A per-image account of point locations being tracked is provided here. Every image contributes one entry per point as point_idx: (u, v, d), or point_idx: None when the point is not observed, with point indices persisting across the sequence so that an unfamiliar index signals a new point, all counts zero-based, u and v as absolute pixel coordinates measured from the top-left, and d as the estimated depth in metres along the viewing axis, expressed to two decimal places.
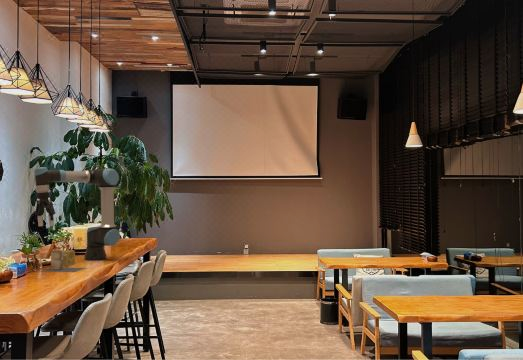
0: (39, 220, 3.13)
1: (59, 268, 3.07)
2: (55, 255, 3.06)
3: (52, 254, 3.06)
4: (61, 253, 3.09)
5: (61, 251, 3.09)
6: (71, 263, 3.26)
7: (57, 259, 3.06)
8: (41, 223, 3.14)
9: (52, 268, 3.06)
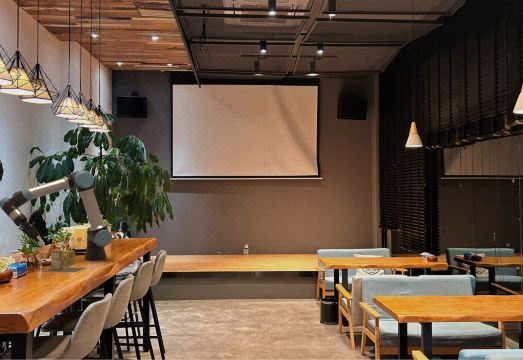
0: None
1: (59, 268, 3.07)
2: (55, 255, 3.06)
3: (52, 254, 3.06)
4: (61, 253, 3.09)
5: (61, 251, 3.09)
6: (71, 263, 3.26)
7: (57, 259, 3.06)
8: None
9: (52, 268, 3.06)
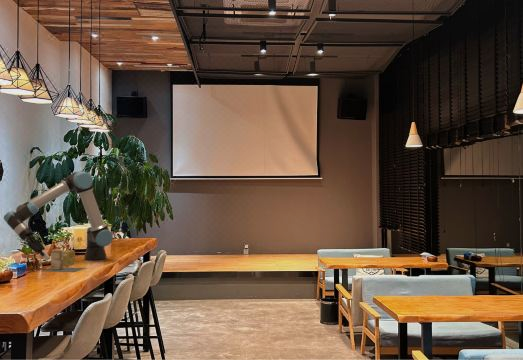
0: None
1: (59, 268, 3.07)
2: (55, 255, 3.06)
3: (52, 254, 3.06)
4: (61, 253, 3.09)
5: (61, 251, 3.09)
6: (71, 263, 3.26)
7: (57, 259, 3.06)
8: None
9: (52, 268, 3.06)
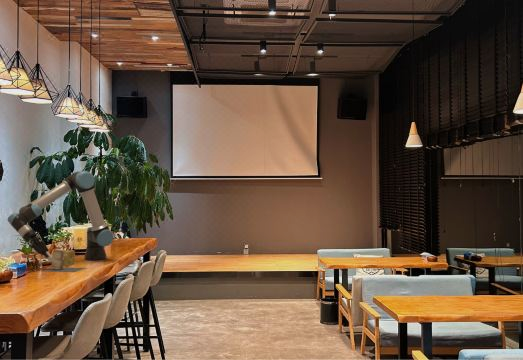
0: None
1: (59, 268, 3.07)
2: (57, 255, 3.06)
3: (54, 253, 3.06)
4: (63, 253, 3.09)
5: (63, 251, 3.09)
6: (71, 263, 3.26)
7: (58, 259, 3.06)
8: None
9: (52, 267, 3.06)
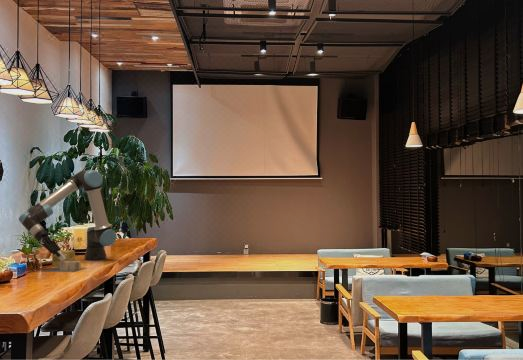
0: None
1: (60, 269, 3.07)
2: (72, 267, 3.05)
3: (73, 263, 3.05)
4: None
5: (78, 269, 3.07)
6: None
7: (68, 269, 3.05)
8: None
9: (60, 263, 3.06)
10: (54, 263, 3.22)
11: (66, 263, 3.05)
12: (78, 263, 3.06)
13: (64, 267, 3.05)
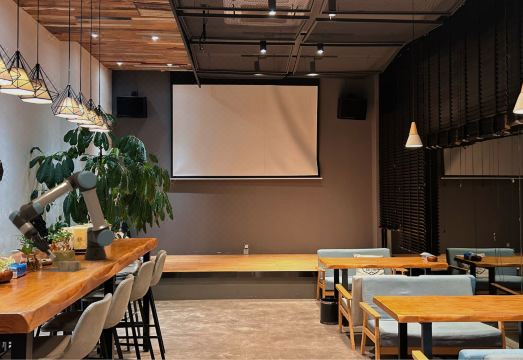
0: None
1: (60, 269, 3.07)
2: (72, 267, 3.05)
3: (73, 263, 3.05)
4: None
5: (78, 269, 3.07)
6: None
7: (68, 269, 3.05)
8: None
9: (60, 263, 3.06)
10: (54, 263, 3.22)
11: (66, 263, 3.05)
12: (78, 263, 3.06)
13: (64, 267, 3.05)
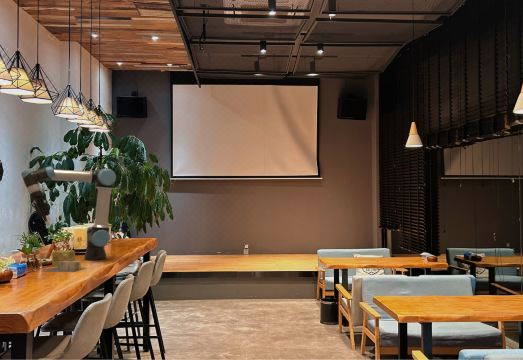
0: None
1: (60, 269, 3.07)
2: (72, 267, 3.05)
3: (73, 263, 3.05)
4: None
5: (78, 269, 3.07)
6: None
7: (68, 269, 3.05)
8: None
9: (60, 263, 3.06)
10: (54, 263, 3.22)
11: (66, 263, 3.05)
12: (78, 263, 3.06)
13: (64, 267, 3.05)
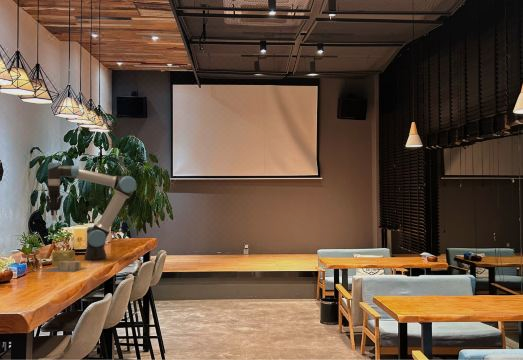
0: None
1: (60, 269, 3.07)
2: (72, 267, 3.05)
3: (73, 263, 3.05)
4: None
5: (78, 269, 3.07)
6: None
7: (68, 269, 3.05)
8: None
9: (60, 263, 3.06)
10: (54, 263, 3.22)
11: (66, 263, 3.05)
12: (78, 263, 3.06)
13: (64, 267, 3.05)
